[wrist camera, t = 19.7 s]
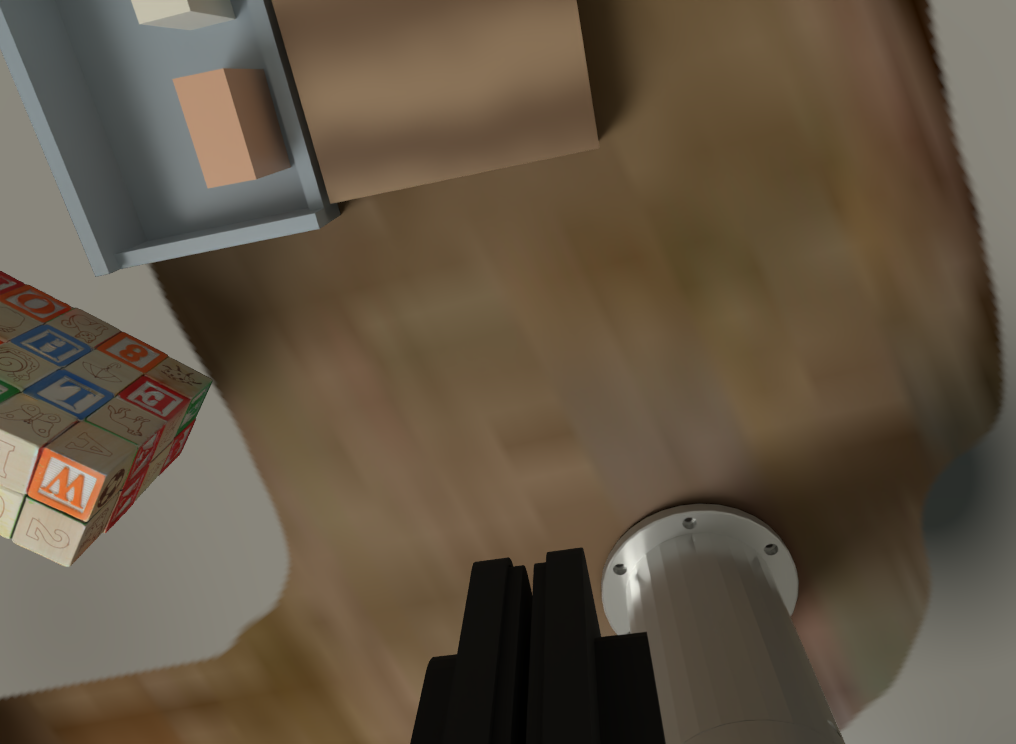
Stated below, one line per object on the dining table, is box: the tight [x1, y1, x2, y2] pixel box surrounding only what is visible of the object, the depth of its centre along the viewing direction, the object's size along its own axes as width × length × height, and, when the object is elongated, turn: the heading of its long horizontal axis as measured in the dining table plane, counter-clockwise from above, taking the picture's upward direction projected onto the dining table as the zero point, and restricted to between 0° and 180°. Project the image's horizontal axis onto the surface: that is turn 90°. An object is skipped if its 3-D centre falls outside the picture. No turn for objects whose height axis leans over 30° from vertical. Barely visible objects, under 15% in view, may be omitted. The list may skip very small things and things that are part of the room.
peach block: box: [172, 68, 291, 188], centre depth 37 cm, size 5×5×2 cm
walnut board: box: [272, 0, 599, 204], centre depth 36 cm, size 16×14×3 cm
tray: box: [0, 0, 341, 276], centre depth 37 cm, size 18×12×5 cm, turn 12°
